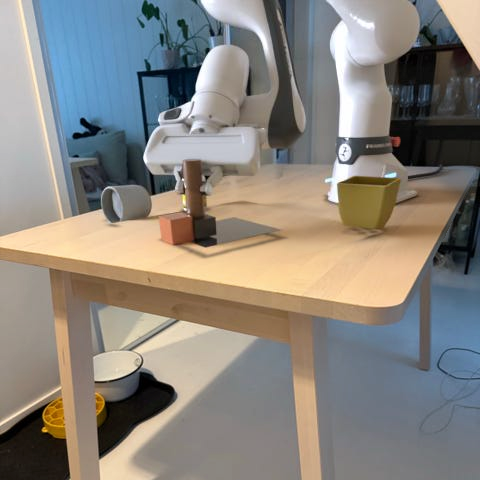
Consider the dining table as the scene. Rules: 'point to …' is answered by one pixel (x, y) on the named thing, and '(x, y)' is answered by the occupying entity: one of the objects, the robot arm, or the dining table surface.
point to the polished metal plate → (233, 231)
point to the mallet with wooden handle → (196, 200)
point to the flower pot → (367, 200)
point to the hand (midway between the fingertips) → (192, 193)
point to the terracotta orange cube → (176, 228)
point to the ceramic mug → (125, 203)
